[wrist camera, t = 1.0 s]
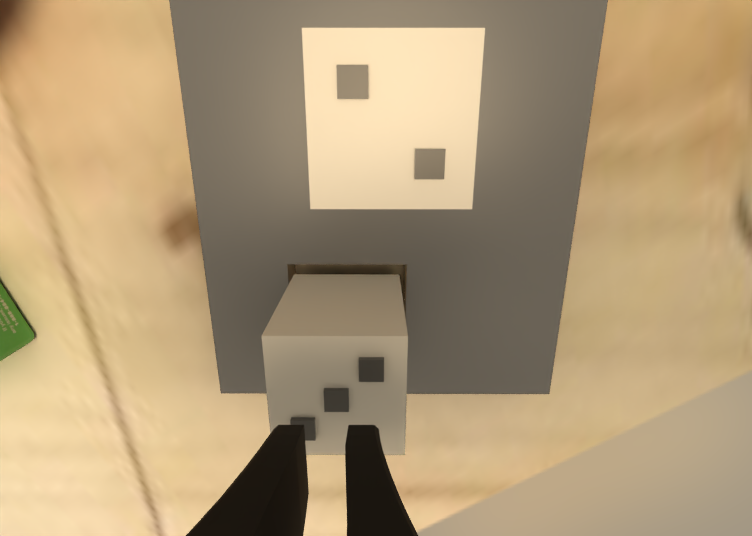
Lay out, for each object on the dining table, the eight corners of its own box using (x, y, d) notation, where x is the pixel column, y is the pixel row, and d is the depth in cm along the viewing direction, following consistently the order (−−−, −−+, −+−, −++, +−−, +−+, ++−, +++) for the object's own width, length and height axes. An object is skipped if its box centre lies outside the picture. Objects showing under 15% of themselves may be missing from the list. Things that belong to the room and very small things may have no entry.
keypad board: (624, -268, 13) (654, -315, 12) (537, 374, 20) (549, 393, 19) (154, -267, 13) (128, -314, 12) (231, 373, 20) (220, 393, 19)
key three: (399, 274, 17) (408, 338, 12) (397, 366, 18) (405, 458, 13) (294, 274, 17) (259, 338, 12) (300, 366, 18) (271, 458, 13)
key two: (449, 57, 14) (486, 26, 9) (443, 181, 16) (473, 210, 11) (326, 57, 14) (300, 26, 10) (330, 181, 16) (309, 210, 11)
